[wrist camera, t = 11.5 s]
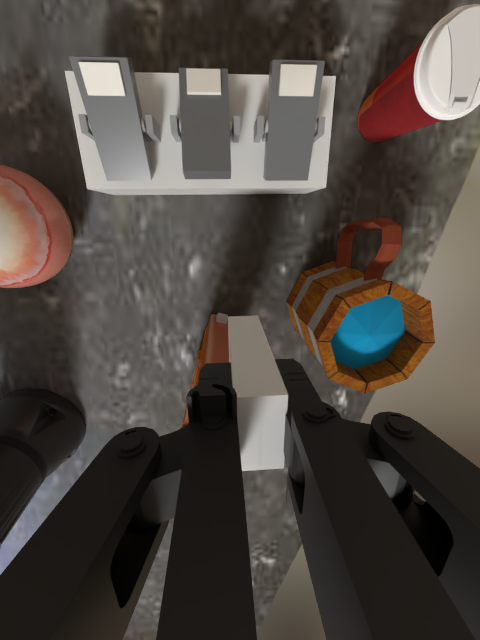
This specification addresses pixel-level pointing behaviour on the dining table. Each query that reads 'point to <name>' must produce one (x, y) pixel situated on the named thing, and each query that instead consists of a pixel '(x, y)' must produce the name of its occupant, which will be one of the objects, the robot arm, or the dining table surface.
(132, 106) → the rocker
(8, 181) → the vase
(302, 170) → the rocker
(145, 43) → the dining table surface
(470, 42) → the paper cup
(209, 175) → the rocker
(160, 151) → the console
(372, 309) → the mug
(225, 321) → the control panel
